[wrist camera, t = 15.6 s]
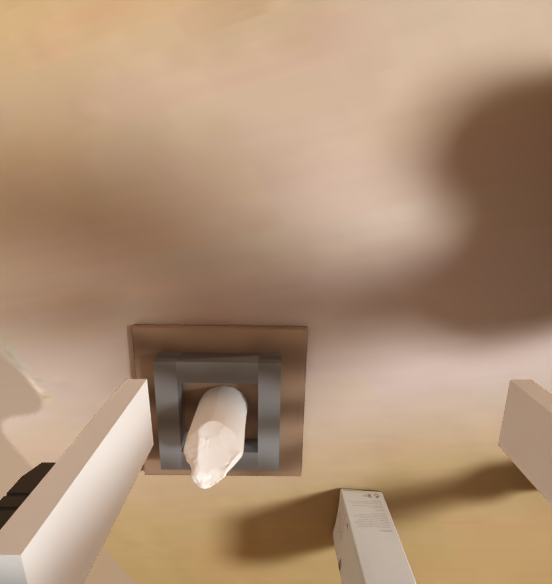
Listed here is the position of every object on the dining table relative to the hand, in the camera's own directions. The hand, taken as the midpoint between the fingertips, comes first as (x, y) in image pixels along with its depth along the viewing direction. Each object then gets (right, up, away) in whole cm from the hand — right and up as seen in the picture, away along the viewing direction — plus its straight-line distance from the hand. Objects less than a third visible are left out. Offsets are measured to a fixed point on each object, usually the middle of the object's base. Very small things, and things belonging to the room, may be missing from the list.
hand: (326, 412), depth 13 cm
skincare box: (+9, -26, +36) cm, 45 cm away
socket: (-8, -9, +31) cm, 34 cm away
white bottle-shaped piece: (-8, -9, +31) cm, 33 cm away
